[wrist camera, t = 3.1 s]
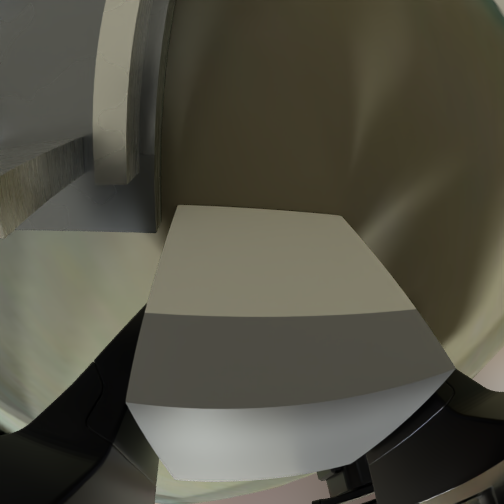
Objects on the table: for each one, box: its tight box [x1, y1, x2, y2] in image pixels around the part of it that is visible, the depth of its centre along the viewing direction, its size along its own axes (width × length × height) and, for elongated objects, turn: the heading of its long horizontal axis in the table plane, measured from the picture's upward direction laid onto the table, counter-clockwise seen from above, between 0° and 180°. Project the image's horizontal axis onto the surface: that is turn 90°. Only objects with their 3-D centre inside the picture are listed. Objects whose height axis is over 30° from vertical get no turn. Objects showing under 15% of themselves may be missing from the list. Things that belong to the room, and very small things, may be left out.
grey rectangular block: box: [126, 205, 456, 482], centre depth 7 cm, size 5×5×6 cm
